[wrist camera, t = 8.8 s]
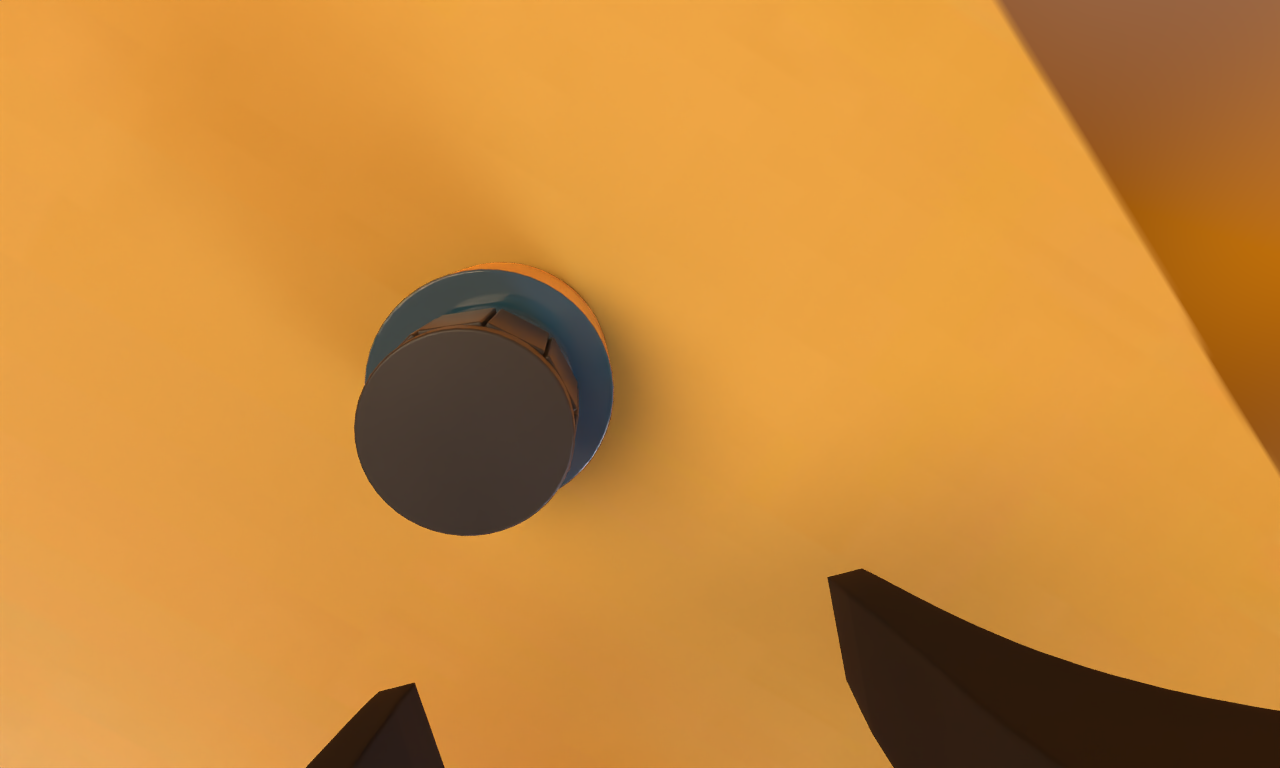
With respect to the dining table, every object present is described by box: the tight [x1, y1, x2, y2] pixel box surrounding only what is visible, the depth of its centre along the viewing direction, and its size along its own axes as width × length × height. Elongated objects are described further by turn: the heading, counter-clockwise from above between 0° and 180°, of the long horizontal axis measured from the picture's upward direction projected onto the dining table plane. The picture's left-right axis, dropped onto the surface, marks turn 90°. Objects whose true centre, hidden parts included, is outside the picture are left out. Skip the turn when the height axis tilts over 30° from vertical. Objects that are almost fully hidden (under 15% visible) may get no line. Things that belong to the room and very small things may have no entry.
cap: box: [354, 308, 579, 536], centre depth 15 cm, size 4×4×3 cm
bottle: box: [365, 262, 614, 489], centre depth 17 cm, size 6×6×6 cm
